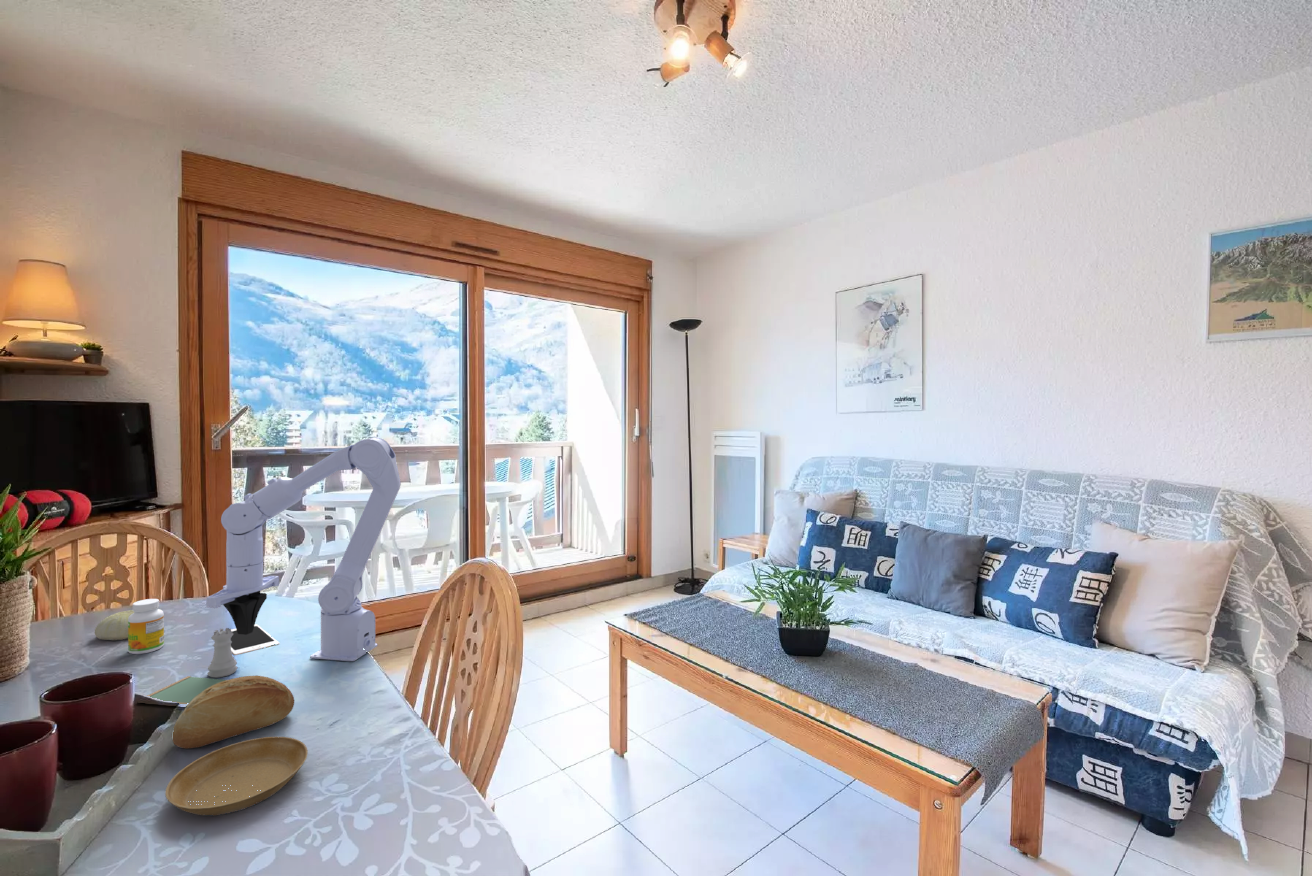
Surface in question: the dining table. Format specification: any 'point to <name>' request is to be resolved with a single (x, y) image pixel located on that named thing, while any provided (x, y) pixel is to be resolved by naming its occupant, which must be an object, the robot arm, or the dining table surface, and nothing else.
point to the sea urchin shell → (114, 626)
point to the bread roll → (232, 710)
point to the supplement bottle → (145, 627)
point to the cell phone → (251, 640)
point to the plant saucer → (236, 775)
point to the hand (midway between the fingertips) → (245, 633)
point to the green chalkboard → (184, 689)
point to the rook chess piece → (222, 655)
